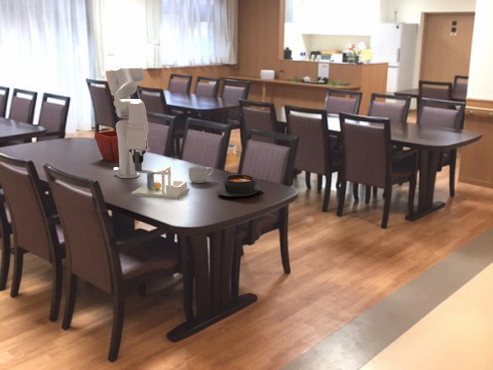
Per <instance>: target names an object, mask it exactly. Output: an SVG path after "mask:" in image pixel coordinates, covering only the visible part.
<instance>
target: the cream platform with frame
mask: <svg viewBox="0 0 493 370" xmlns="http://www.w3.org/2000/svg"><path fill="white" fill-rule="evenodd" d="M171 170H172V169H171V166H166V167H164V168H163V169H161V174H162V175H161V188H160V189H158V190H156V189H154V187H153V188H151V189H147V182H146V183H145V184H142V186H140V187H138V188H137V189H135V190H133V191H131V196H137V197H138V196H140V197H148V198H149V197H150V198H161V199H162V198H163V199H172V200H174V199H175V200H177V199H179V198H180V197H181V196H183V195H184V194H185V193H187V192H188V191H189V190H190V186H188V182H187V181H186V180H185V181H184V180H176V179H175V180H172V179H171V177H172V175H167V184H166V183H165V182H166V179H165V177H166V175H165V172H172V171H171ZM172 181H173V185H172Z"/></svg>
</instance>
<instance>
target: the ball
mask: <svg viewBox="0 0 493 370" xmlns="http://www.w3.org/2000/svg"><path fill="white" fill-rule="evenodd" d="M161 185H162V183H161V182H159V181H154V184H153V187H154V189H156V190H158V189H160V188H161Z"/></svg>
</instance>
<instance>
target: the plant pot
mask: <svg viewBox="0 0 493 370" xmlns="http://www.w3.org/2000/svg"><path fill="white" fill-rule="evenodd" d="M94 138H95V141H96V144H97V148H98V151H99V154H100V156H101V157H102V160H105V161H109V162H111V163H116V162H119V147H118V136H117V131H116V129H114V130H106V131H99V132H94Z"/></svg>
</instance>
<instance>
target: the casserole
mask: <svg viewBox="0 0 493 370" xmlns="http://www.w3.org/2000/svg"><path fill="white" fill-rule="evenodd" d="M222 183H223V185H224V187H223V188H221V189H218V190H217V191H216V193H217V194H218V195H220V196H224V197H228V198H231V197H236V198H242V197H248V196H249V197H250V196H252V195H255V194H257V193H258V192H261V191H263V188H262V187H261V186H259V185H257V181H256V178H255V177H254V176H252V175H247V174H231V175H227V176H226V177H225V178H224V180H223V181H222Z"/></svg>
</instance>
